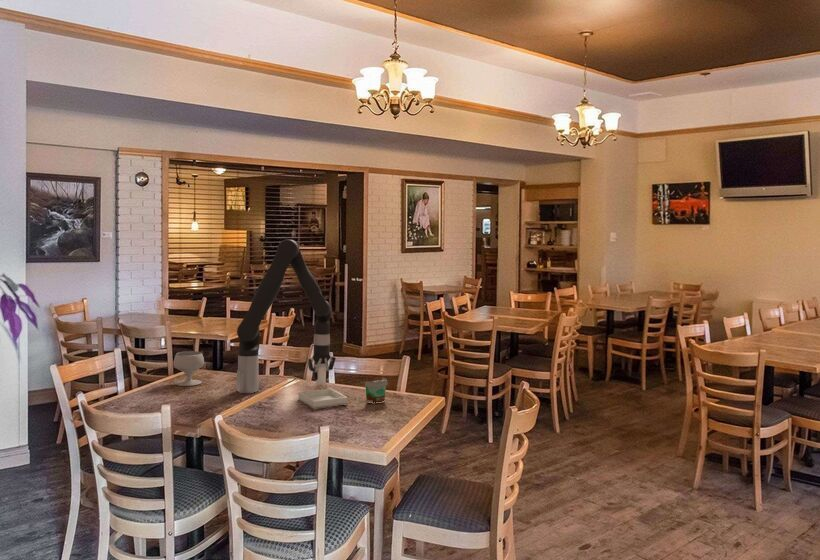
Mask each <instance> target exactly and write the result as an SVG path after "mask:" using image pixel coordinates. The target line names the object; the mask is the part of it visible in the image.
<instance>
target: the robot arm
mask: <svg viewBox="0 0 820 560" xmlns="http://www.w3.org/2000/svg"><path fill="white" fill-rule="evenodd" d="M289 266H291V268H292V269H293V271H294V273H295V275H296V278H297V280H298V282H299V285H300V287H301V289H302V290H303V292H304V293H305V295H306V297H307V298H308V300H309V303H310V305H311V307H312V310H313V312H314V313H315V323H314V334H313V352H312V353H313V356H312V357H310V358H309V357H308V358H306V362H307V364H308V370H309V371H310V372H312V377H313V379H314V380H315V381H316V380H317V377H318V372H317V370H318V368H319V366H320V364H323V363H325V364H326V380H328V378H329V376H330V375H329V374H330V371H331V370H333V369H334V366H335V363H336V357H335V356H331V354H330V351H331V350H330V349H331V348H330V347H331V336H330V335H331V333H330V332H331V331H330V328H331V326H330V325H331V324H330V321H331V314H332V307H331V304H330V302H329V301H327V300H326V298H325V297H324V296H323V294H322V290H321V287H320V286H319V284H318V282H317V280H316V279H315V277H314V275H313V274H312V273H311V270H309V267H308V266H307V264H306V261H305V259H304V257H303V254H302V252H301V249H300V246H299V243H298V242H297V241H295V240H293V239H283V240H281V241H280V242H279V243H278V246H277V248H276V251H275V254H274V256H273V259H272V262H271V264H270V266H269V267H268V268H267V270H266V272H265V274H264V275H263V277H262V279H261V281H260V283H259V284H258V287H257V288H256V291H255V294H254V296H253V298H252V301H251V303H250V306H249V308H248V310H247V312H246V314H245V315H244V317H243V319H242V321H241V322H240V323H239V325H238V326H237V330H236V335H237V338H238V339H239V343H238V349H237V370H236V391H237V392H238V393H239V394H254V392H255V393H257V391H258V392H259V361H260V360H259V358H260V357H259V351H260V333H261V332H260V325H261V324H262V323H261V322H262V321H263V318H264V316H265V315H266V313H267V312H268V311H269V309H270V308H271V306H272V304H273V303H274V301H276V298H277V296H278V293H279V292H280V290H281V287H282V284H283V281H284V277H285V274H286V272H287V270H288V268H289ZM313 361H314V362H313ZM313 363H314V364H313ZM316 364H317V365H316Z"/></svg>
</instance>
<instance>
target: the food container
mask: <svg viewBox="0 0 820 560" xmlns="http://www.w3.org/2000/svg"><path fill="white" fill-rule="evenodd" d="M388 385H389V384H388V380H387V378H386V377H383V376H382V377H381V379H377V380H375V379H374V380H372V381H365V382H364V387H365V397H366V399H365V400H366V403H367V402H373V403H374V402H375V403H376V402H382V401H384V400H385V398H386V389H387V386H388ZM384 402H385V401H384Z"/></svg>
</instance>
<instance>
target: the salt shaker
mask: <svg viewBox="0 0 820 560" xmlns="http://www.w3.org/2000/svg"><path fill="white" fill-rule="evenodd" d="M316 365H317V364H316ZM317 372H318V377H317V380H315V385H317V386H325V385H327V383H326V382H327V379H326V364H325V363H323V364H320V366H319V368H318V370H317Z"/></svg>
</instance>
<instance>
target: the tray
mask: <svg viewBox="0 0 820 560" xmlns="http://www.w3.org/2000/svg"><path fill="white" fill-rule="evenodd" d="M348 398H349V397H348V396H346V395H345V394H342V393H340V392H339V391H337V390H335V389H333V388H325V389H324V388H322V389H316V390H306V391H301V392H300V391H299V392H298V401H300V402H302V404H305V405H306V406H308V407H309V408H310V409H312V410H321V408H323V409H327V408H326V407H330V408H333V407H332V406H338V405H344V404H348V403H349V402H348ZM348 405H349V404H348ZM338 407H339V406H338Z"/></svg>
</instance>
